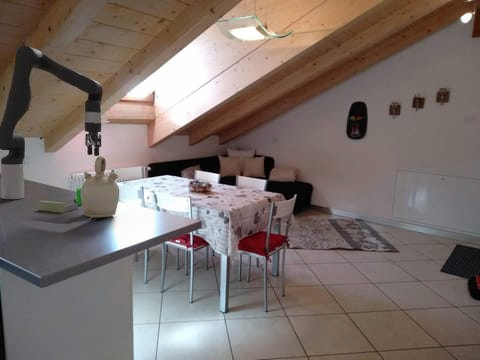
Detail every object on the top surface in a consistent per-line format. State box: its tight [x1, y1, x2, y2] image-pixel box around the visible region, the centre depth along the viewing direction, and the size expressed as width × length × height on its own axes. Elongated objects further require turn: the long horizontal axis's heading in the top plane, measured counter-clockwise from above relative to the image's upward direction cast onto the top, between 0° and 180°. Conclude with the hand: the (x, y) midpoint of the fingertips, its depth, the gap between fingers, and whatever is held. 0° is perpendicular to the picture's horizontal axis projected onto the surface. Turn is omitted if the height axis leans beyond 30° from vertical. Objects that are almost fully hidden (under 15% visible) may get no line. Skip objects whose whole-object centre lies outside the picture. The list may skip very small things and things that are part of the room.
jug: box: [80, 155, 120, 218], centre depth 147 cm, size 15×16×25 cm
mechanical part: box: [74, 187, 82, 206], centre depth 173 cm, size 12×6×8 cm, turn 33°
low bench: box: [38, 200, 79, 214], centre depth 155 cm, size 13×9×4 cm
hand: (93, 155), depth 171 cm, fingers open, 8 cm apart
